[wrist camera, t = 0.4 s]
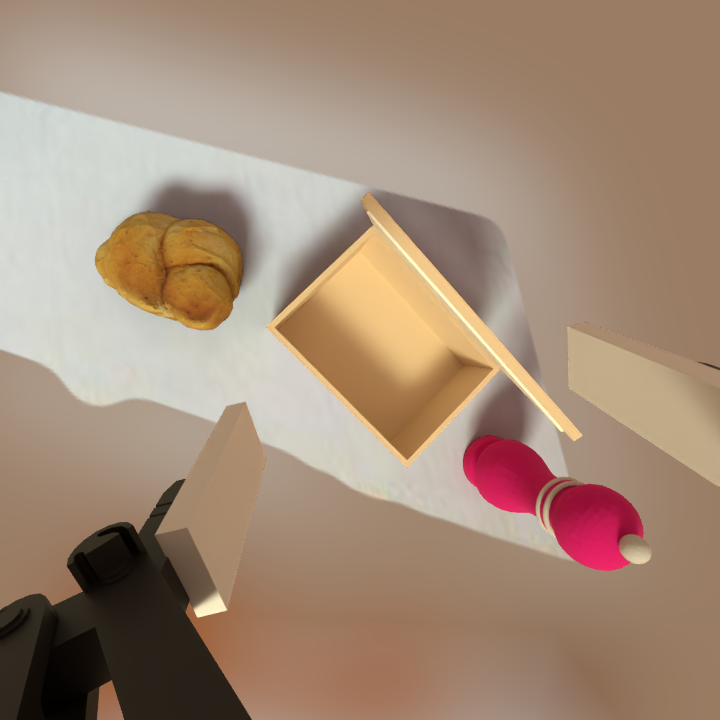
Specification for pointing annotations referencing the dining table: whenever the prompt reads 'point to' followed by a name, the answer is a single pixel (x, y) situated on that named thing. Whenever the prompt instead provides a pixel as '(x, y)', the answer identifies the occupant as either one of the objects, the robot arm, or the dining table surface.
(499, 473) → the pepper mill
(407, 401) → the mailer box
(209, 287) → the bread roll
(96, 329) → the dining table surface
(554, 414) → the lid
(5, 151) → the dining table surface
